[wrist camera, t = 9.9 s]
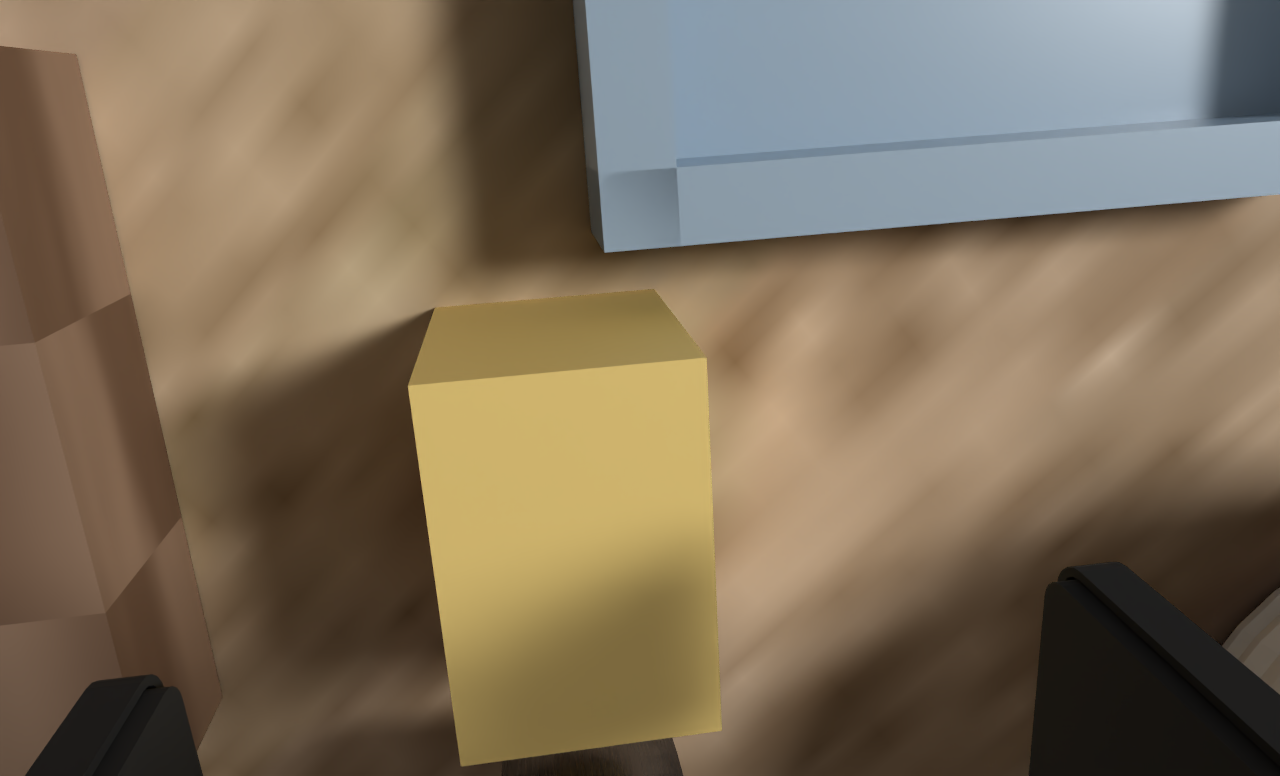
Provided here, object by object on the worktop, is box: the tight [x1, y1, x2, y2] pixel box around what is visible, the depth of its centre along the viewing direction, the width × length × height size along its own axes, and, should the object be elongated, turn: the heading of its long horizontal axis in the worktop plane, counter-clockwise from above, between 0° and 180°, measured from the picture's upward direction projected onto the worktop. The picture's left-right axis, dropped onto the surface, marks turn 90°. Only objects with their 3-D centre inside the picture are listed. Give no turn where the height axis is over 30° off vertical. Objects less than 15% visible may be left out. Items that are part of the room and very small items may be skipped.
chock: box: [408, 289, 722, 767], centre depth 16 cm, size 4×6×5 cm, turn 3°
